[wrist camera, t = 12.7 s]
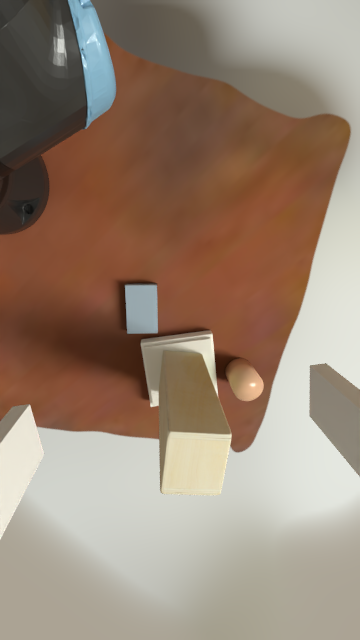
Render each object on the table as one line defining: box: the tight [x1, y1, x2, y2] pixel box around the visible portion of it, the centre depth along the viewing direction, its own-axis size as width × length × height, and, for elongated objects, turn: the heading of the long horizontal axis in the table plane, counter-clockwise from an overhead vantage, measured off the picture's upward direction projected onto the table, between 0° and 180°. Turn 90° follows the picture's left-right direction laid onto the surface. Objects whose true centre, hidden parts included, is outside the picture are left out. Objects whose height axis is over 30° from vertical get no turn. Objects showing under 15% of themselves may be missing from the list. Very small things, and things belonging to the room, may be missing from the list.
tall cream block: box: [159, 351, 232, 495], centre depth 41 cm, size 8×7×21 cm
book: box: [125, 284, 158, 334], centre depth 50 cm, size 8×5×2 cm, turn 0°
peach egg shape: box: [225, 358, 263, 401], centre depth 52 cm, size 5×5×6 cm
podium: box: [141, 330, 218, 407], centre depth 52 cm, size 12×12×3 cm
